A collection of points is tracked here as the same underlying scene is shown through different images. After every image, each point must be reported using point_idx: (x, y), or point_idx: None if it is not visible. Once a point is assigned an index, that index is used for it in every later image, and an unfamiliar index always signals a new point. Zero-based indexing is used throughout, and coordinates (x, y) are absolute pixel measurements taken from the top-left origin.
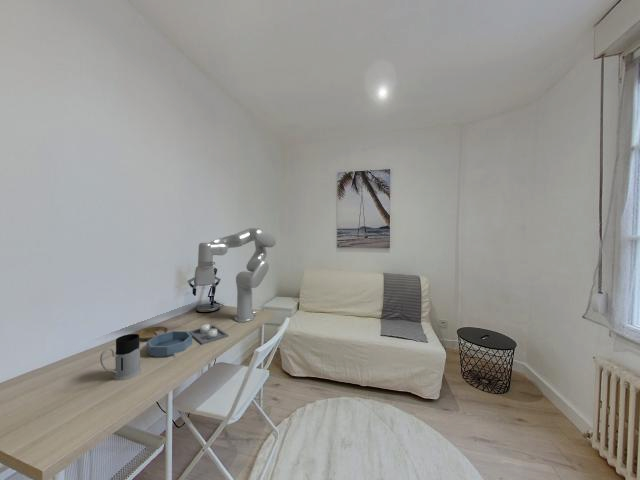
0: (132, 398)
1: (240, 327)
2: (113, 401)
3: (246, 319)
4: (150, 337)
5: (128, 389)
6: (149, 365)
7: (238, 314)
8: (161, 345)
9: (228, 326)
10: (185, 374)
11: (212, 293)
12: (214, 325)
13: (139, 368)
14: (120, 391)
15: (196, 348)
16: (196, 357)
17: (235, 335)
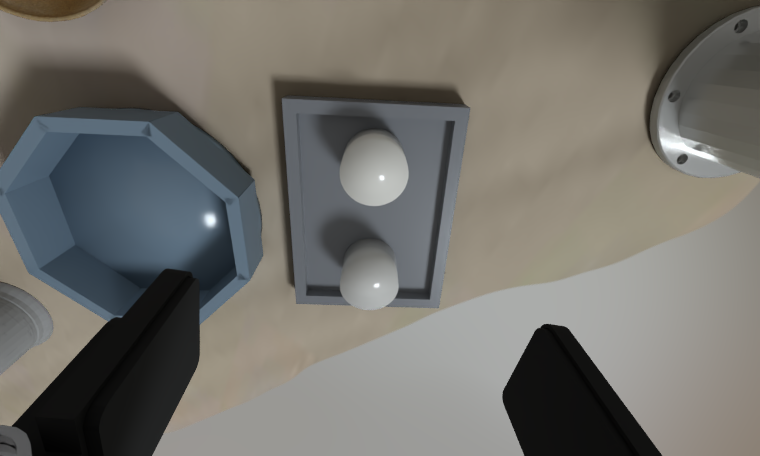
0: None
1: (575, 222)
2: (10, 416)
3: (698, 161)
4: (10, 13)
5: (36, 393)
6: (78, 306)
7: (714, 111)
8: (109, 169)
9: (544, 153)
10: (195, 419)
11: (517, 368)
12: (466, 122)
13: (36, 339)
14: (15, 389)
15: (272, 295)
16: (250, 358)
17: (478, 294)
